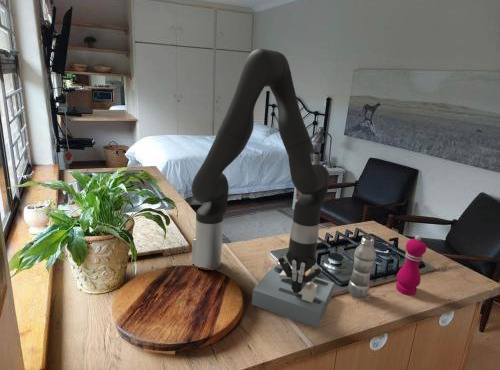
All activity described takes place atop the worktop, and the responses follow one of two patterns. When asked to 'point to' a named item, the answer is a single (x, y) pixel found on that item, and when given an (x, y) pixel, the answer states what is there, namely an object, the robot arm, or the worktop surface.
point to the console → (292, 298)
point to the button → (279, 266)
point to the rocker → (283, 276)
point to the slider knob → (309, 291)
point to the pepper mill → (411, 267)
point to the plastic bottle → (362, 268)
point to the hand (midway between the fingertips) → (296, 291)
